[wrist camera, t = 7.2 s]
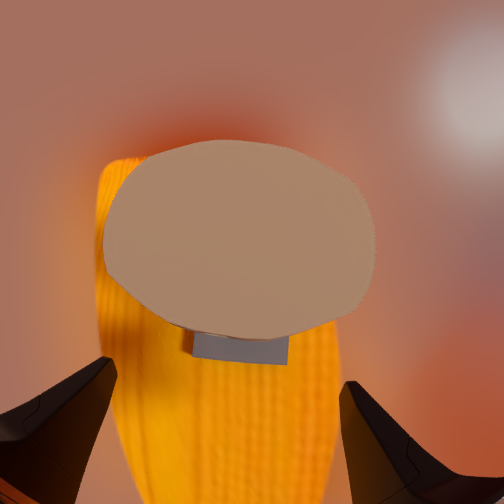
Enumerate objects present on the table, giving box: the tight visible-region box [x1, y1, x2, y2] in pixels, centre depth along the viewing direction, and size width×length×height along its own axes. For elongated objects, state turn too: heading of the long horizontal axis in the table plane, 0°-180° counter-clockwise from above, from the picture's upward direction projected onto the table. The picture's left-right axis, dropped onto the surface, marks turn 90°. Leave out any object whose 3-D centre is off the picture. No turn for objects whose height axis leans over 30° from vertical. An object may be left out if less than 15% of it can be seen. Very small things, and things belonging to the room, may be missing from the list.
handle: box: [103, 140, 376, 342], centre depth 13 cm, size 5×6×15 cm
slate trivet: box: [192, 332, 289, 365], centre depth 21 cm, size 8×7×1 cm
